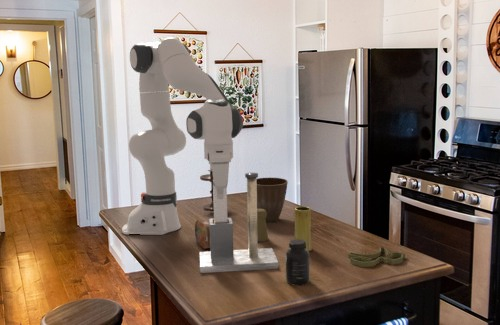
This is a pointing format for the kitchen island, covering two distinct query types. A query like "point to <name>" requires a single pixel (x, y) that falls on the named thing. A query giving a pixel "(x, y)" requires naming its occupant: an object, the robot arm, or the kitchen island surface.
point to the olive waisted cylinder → (262, 225)
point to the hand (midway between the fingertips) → (219, 196)
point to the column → (220, 206)
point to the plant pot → (271, 196)
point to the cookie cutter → (365, 259)
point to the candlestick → (210, 178)
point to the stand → (222, 242)
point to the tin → (202, 233)
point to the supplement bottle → (297, 263)
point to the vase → (303, 225)
